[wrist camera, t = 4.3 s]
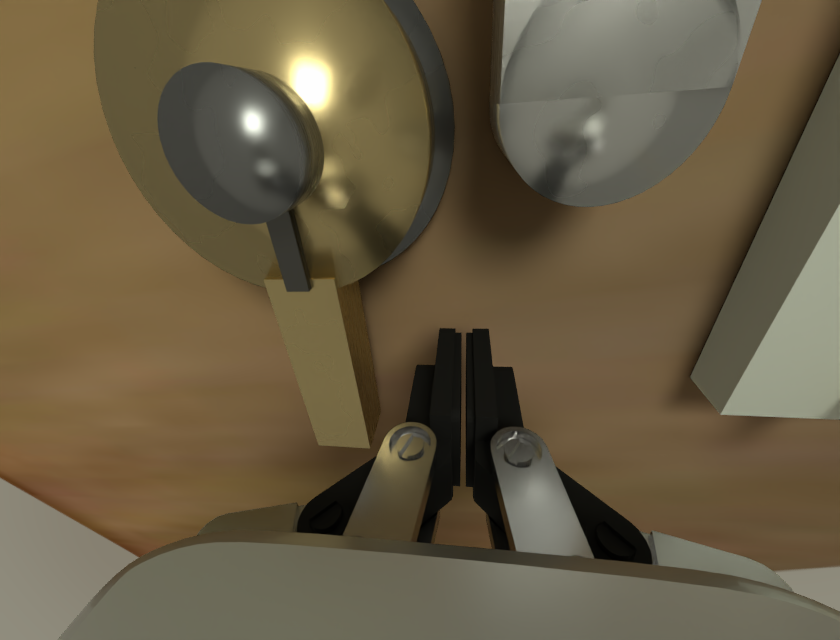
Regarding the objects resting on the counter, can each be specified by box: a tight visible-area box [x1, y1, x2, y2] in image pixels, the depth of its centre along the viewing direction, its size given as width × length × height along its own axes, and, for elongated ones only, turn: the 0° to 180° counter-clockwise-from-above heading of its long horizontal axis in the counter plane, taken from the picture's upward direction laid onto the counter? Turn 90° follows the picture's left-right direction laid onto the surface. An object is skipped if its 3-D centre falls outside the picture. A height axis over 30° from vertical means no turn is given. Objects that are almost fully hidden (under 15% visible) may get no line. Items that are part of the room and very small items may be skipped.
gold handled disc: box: [94, 0, 435, 448], centre depth 10 cm, size 15×8×3 cm, turn 4°
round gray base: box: [381, 0, 455, 265], centre depth 11 cm, size 9×9×1 cm
